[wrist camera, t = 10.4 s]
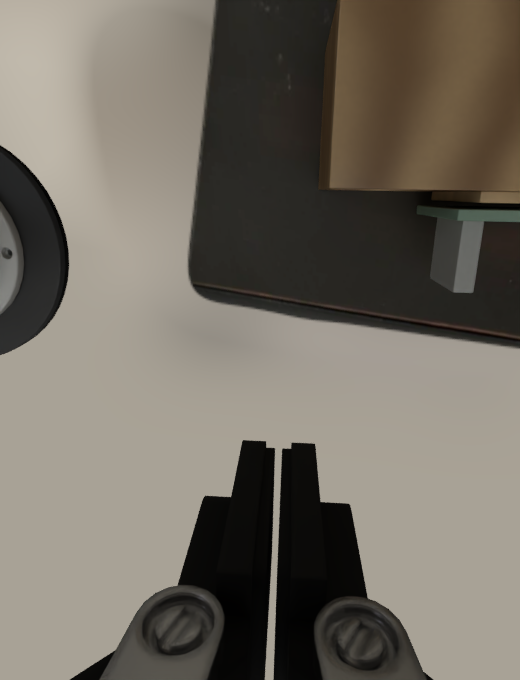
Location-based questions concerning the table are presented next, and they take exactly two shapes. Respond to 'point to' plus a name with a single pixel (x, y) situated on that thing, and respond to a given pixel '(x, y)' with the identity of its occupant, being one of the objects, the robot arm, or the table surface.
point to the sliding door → (461, 241)
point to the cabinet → (423, 99)
